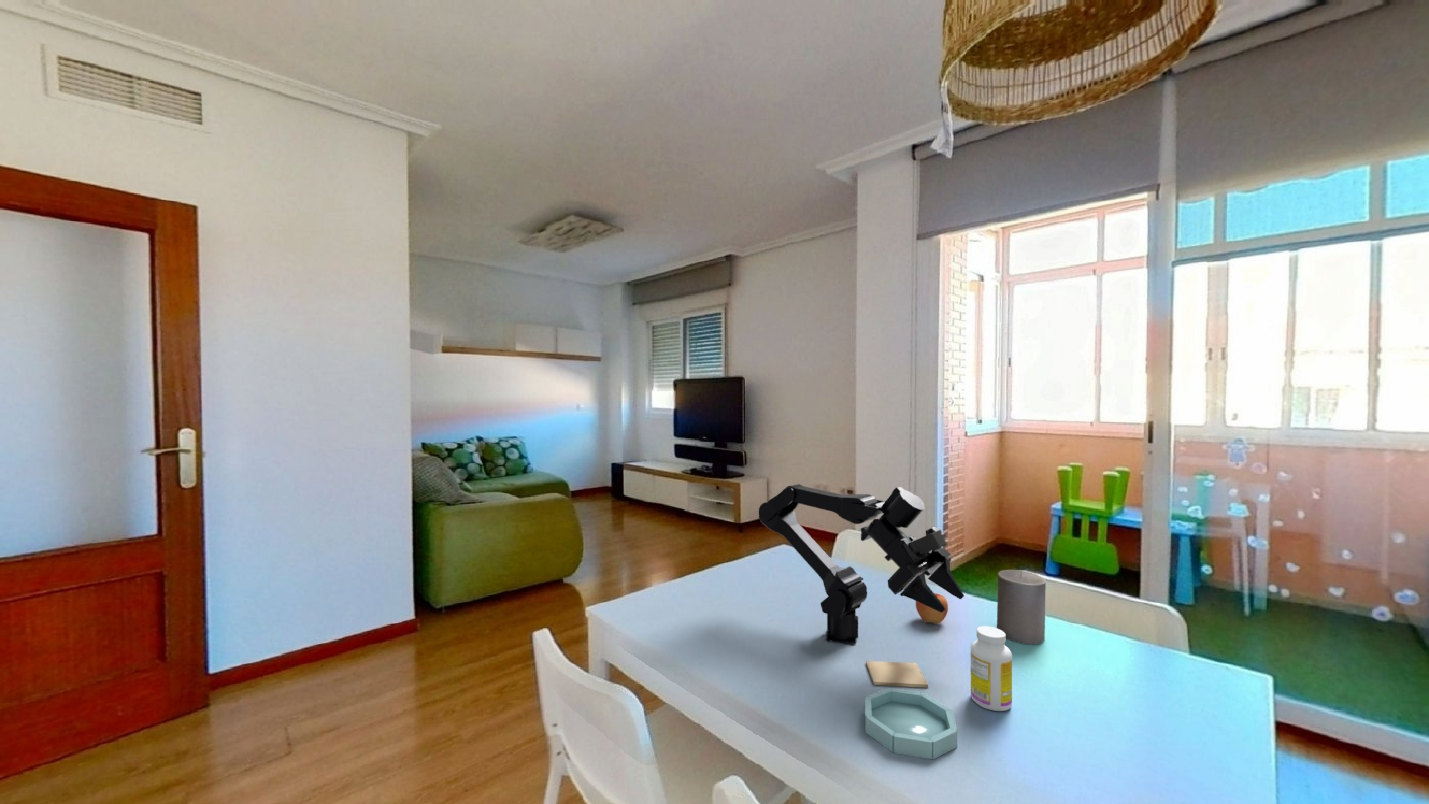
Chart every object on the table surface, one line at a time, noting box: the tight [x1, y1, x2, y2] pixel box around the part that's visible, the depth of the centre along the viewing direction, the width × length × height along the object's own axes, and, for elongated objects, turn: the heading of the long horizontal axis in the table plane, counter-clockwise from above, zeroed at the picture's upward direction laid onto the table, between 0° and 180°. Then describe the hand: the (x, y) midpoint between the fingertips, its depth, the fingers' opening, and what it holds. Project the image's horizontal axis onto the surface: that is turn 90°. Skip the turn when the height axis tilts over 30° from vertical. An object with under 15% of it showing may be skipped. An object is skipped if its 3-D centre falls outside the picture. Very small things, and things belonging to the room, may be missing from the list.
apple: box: [915, 592, 949, 625], centre depth 129 cm, size 7×7×8 cm
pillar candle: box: [996, 569, 1047, 646], centre depth 122 cm, size 10×10×15 cm
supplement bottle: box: [970, 625, 1013, 712], centre depth 96 cm, size 7×7×13 cm
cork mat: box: [865, 660, 929, 689], centre depth 105 cm, size 10×8×1 cm
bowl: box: [864, 687, 958, 760], centre depth 88 cm, size 14×14×3 cm
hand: (953, 604), depth 103 cm, fingers open, 9 cm apart
